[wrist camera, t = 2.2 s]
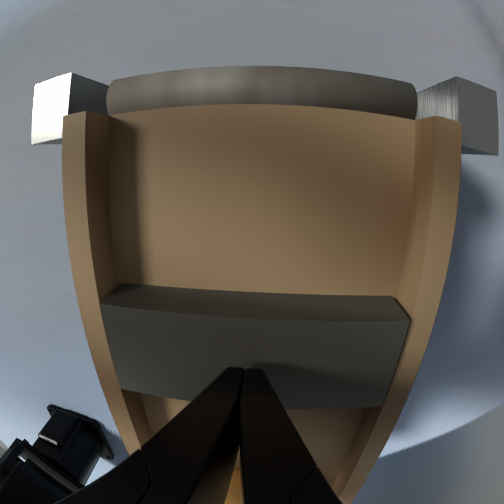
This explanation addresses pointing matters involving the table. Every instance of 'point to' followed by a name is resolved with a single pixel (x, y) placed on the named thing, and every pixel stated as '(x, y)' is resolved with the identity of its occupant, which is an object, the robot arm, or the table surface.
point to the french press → (2, 449)
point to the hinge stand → (429, 104)
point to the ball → (234, 489)
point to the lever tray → (262, 246)
